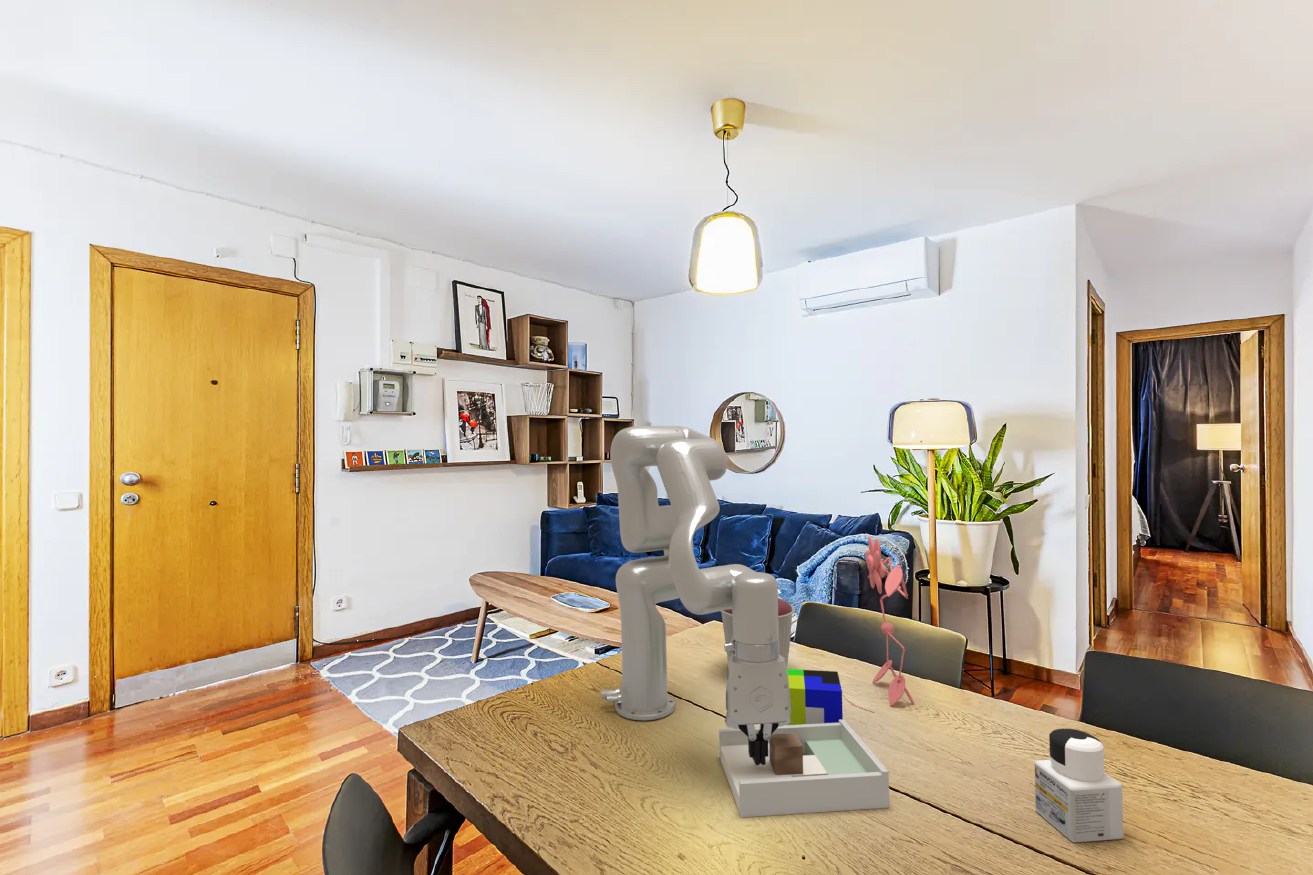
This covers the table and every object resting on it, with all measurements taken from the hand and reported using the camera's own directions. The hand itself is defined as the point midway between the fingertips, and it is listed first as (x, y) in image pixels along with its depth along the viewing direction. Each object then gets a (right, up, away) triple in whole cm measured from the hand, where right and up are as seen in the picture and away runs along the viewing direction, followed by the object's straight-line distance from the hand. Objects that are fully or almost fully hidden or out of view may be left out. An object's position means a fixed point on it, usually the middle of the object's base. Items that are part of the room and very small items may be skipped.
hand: (758, 760), depth 103 cm
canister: (+8, -4, +47) cm, 48 cm away
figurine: (+32, -4, +35) cm, 47 cm away
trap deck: (+7, -4, +1) cm, 8 cm away
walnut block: (+5, -1, 0) cm, 5 cm away
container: (+44, -3, -12) cm, 46 cm away
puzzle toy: (+14, -4, +18) cm, 23 cm away
